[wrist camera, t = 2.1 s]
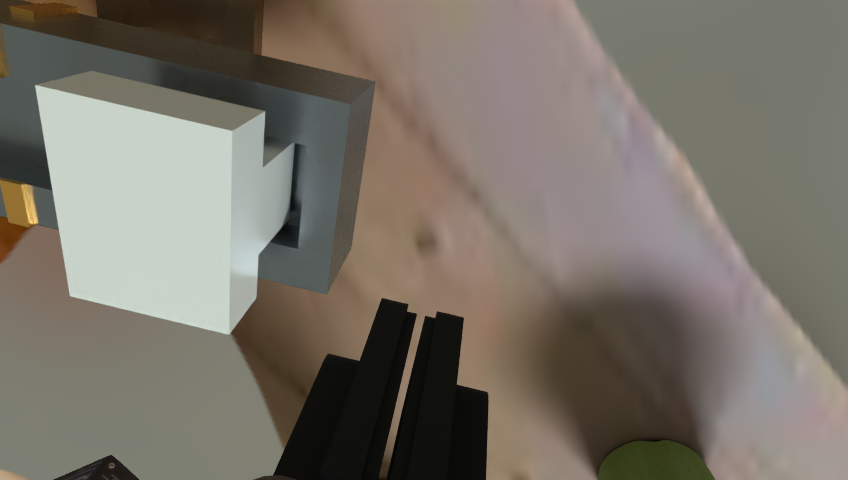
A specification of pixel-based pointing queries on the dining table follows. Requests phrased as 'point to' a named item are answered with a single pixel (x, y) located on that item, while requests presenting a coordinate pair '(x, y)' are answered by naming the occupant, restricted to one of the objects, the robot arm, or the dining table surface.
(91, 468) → the small box
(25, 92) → the balance beam
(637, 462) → the plant pot
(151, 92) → the rider
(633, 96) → the dining table surface
